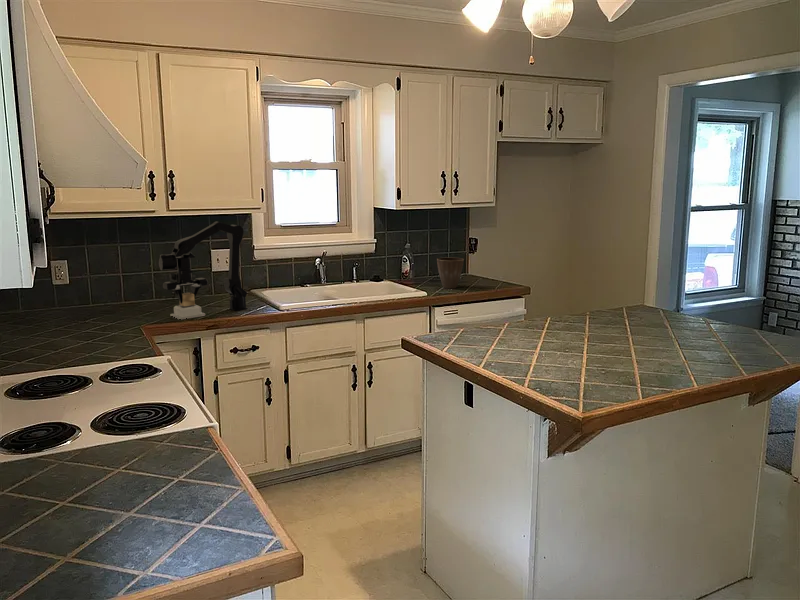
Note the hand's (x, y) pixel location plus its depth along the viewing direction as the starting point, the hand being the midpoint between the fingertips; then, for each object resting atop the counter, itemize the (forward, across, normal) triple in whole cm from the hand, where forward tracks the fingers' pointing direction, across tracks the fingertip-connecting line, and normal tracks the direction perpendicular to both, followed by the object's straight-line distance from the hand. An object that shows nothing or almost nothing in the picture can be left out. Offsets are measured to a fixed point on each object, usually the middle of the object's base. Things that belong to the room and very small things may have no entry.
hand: (187, 302), depth 288 cm
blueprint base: (+6, 0, 0) cm, 6 cm away
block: (+1, 0, 0) cm, 1 cm away
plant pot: (+7, -138, +30) cm, 141 cm away
